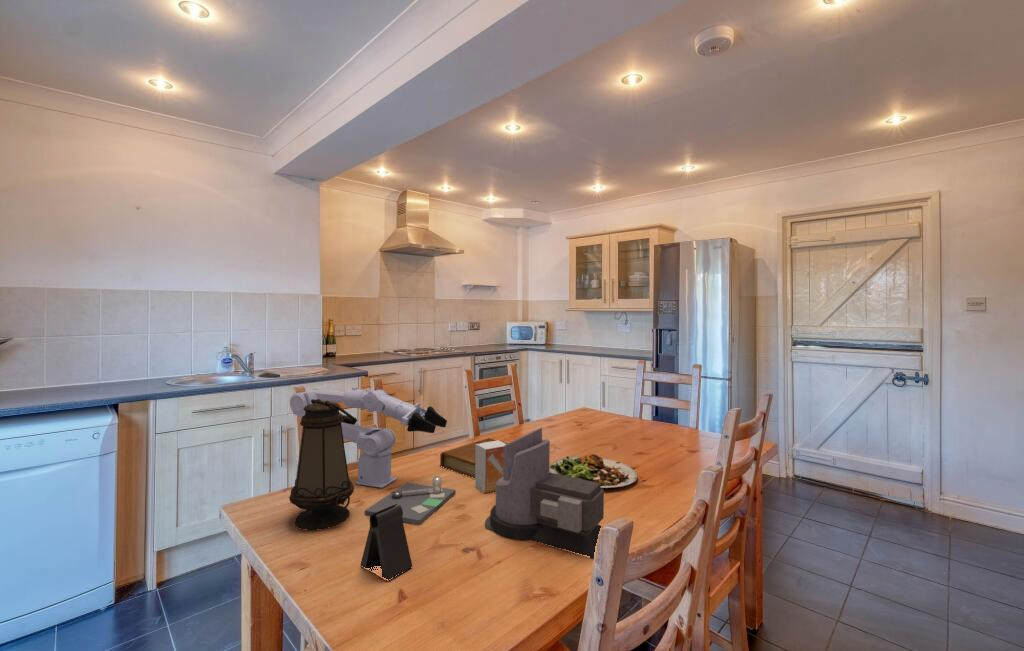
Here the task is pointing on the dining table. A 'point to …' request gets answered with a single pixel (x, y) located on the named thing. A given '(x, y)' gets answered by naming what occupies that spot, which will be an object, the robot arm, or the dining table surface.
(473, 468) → the diary
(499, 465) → the small box
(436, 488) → the metal crank handle
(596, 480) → the plate of food
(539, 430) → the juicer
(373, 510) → the dial board
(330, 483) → the lantern
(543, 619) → the dining table surface
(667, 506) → the dining table surface
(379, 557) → the black tent sign
